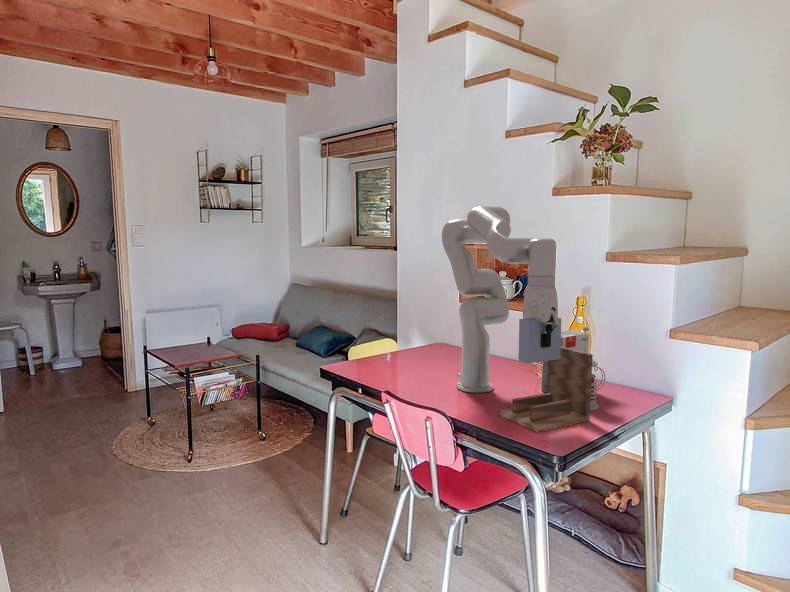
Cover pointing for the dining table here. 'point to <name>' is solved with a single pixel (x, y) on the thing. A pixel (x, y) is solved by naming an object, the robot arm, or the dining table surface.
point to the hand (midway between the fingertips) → (540, 345)
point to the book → (537, 342)
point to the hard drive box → (570, 341)
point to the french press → (594, 364)
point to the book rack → (557, 395)
